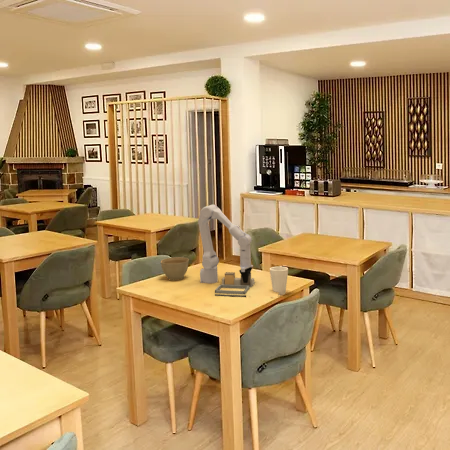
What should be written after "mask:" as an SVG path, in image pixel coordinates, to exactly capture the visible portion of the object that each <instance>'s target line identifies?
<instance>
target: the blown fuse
mask: <svg viewBox="0 0 450 450" xmlns="http://www.w3.org/2000/svg"><path fill="white" fill-rule="evenodd" d="M240 278H241V285H251V283H250V280H251V279H252V272H251V273H249V276H248V282H247V283H243V279H242V276H241V275H240Z"/></svg>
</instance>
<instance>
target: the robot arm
mask: <svg viewBox="0 0 450 450" xmlns="http://www.w3.org/2000/svg"><path fill="white" fill-rule="evenodd" d="M212 219H213V220H218V221H219V222H220V223H221V224H223V226H225V227H226V228H227V229H228V233H229V234H230V235H231V236H232V237H233V238H234V239H235V240H236V241H237V244H238V246H239V261H240V263H239V267H240V269H239V270H238V271H239V274H240V277H241V276H242V279H243V283H247V282H248V276H249V273H251V274H252V270H253V267H254V265H253V264H252V258H251V257H252V256H251V255H252V254H251V251H252V250H251V244H252V241H253V240H252V238H253V237H252V236H251V235H250V234H249V233H247V232H246V231H244V230H242V228H240V225H238V224H234V223H232V221H231V220H230V219H229V218H228V216H226V215H225V214H224V213H223V212H222V210H221V208H219V207H218V206H217V205H216V204H213V203H212V204H210V205H207V206H203V207H202V208H201V210H199V217H198V220H197V223H198V228H199V233H200V239H201V244H202V248H203V249H202V250H203V255H202V261H201V265H202V268H201V269H200V271H199V278H200V279H199V282H200V283H202V284H215V283H216V284H217V283H218V281H219V278H218V277H219V274H218V273H219V272H218V265H219V262H220V260H219V257H218V256H217V252H216V251H215V250H214V246H213V241H212V236H211V235H212V234H211V230H210V224H209V222H210V221H211V220H212Z"/></svg>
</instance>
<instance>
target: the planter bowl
mask: <svg viewBox="0 0 450 450" xmlns="http://www.w3.org/2000/svg"><path fill="white" fill-rule="evenodd" d="M189 260H190V259H189V258H188V257H182V256H181V257H178V256H177V257H176V256H175V257H174V256H173V257H168V258H167V257H166V258H164V259H163V258H162V260H161V261H160V264H161V270H162V272H163V274H164V275H165V276H166V279H167V280H168V279H170V280H169V281H179V279H180V280H183V279H185V276H186V274H187V272H188V269H189Z"/></svg>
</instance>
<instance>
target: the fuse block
mask: <svg viewBox="0 0 450 450" xmlns="http://www.w3.org/2000/svg"><path fill="white" fill-rule="evenodd" d="M250 283H251V285H246V286H250V288H253V286H254V285H255V284H256V281H255V278H254V277H251V280H250ZM221 285H231V284H225V276H223V277H222V279H221ZM234 285H241V277H235V279H234Z"/></svg>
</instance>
